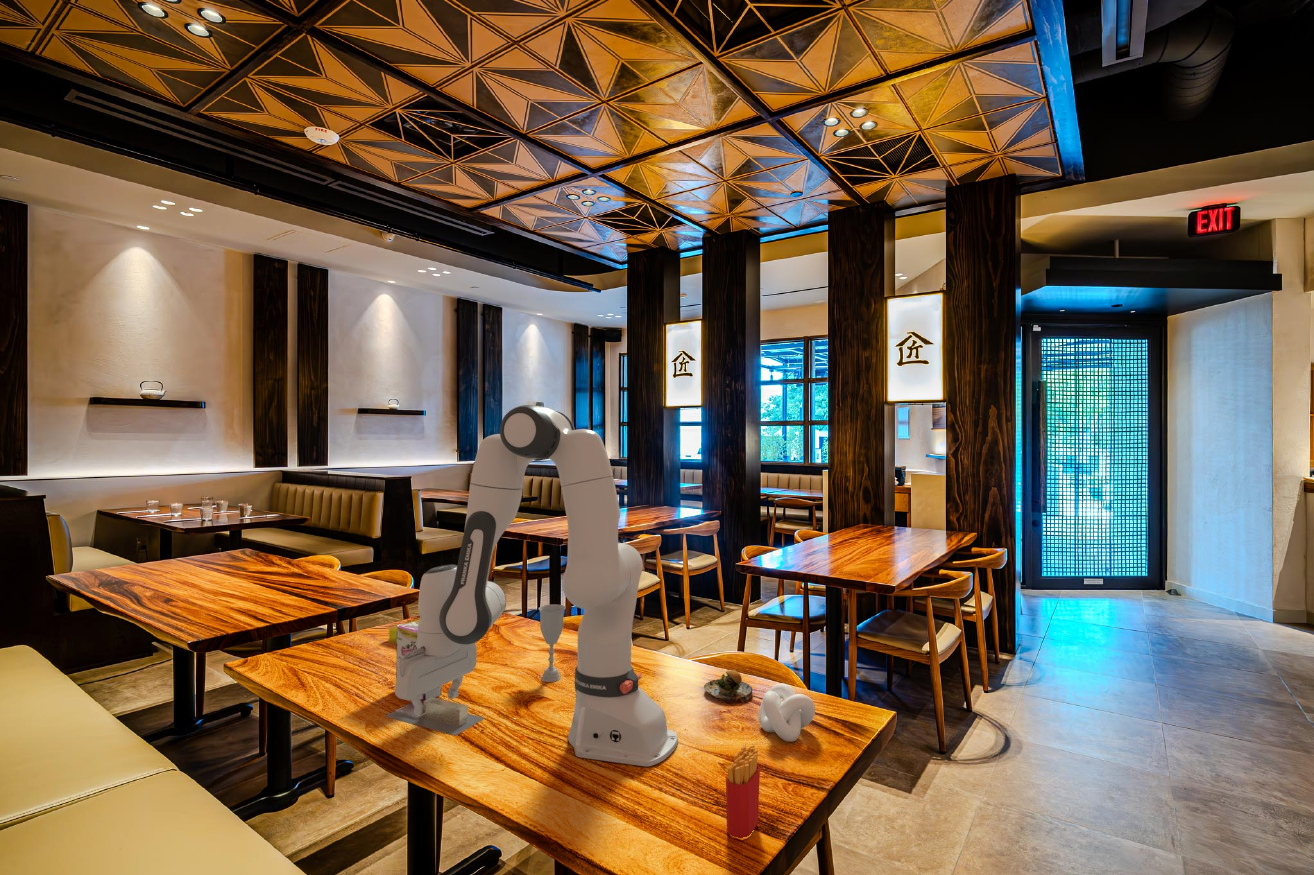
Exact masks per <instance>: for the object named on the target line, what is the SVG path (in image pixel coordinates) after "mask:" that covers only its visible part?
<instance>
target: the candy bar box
mask: <svg viewBox="0 0 1314 875" xmlns="http://www.w3.org/2000/svg"><path fill="white" fill-rule="evenodd" d="M403 624H404V623H403ZM417 631H418V623H415V622H412V623H408V624H404V625H400V626H398V627H397V644H396V652H395V653H396V655H395V656H396V660H395V661H396V662H395V663H396V665H395V669H396V670H395V671H396V672H395V679H396V678H397V672H398V668H399V663H400V661H401V660H402V658H403V657H404V656H405V654H406V653H408V652H412V651H414V650H416V649H417ZM442 686H443V685H442ZM442 686H440V687H437V688H435V689H433V690H431V691H429V692H426V693H424V694H423V698H422V699H420V700H421V702H424V701H425V700H427V699H429V698H431V697H434V698H438V697H441V696H442Z"/></svg>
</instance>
